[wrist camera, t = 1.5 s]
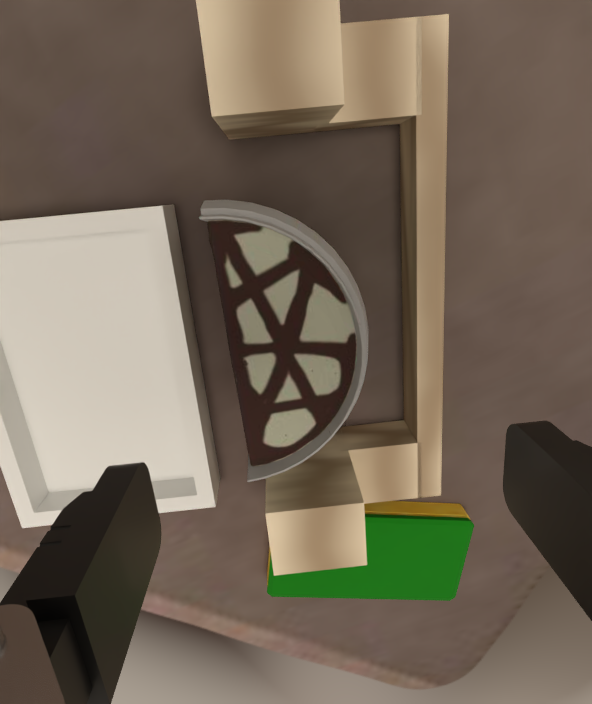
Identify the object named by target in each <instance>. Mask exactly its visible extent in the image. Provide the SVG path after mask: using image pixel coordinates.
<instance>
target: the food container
mask: <svg viewBox="0 0 592 704" xmlns="http://www.w3.org/2000/svg"><path fill="white" fill-rule="evenodd" d="M200 210H201V216H200V217H199V219H200V220H203V221H206V222H207V223H208V230H209V240H210V244H211V247H212V251H213V256H214V261H215V267H216V272H217V278H218V284H219V290H220V296H221V302H222V307H223V313H224V319H225V325H226V331H227V338H228V344H229V350H230V356H231V362H232V367H233V372H234V377H235V382H236V387H237V393H238V398H239V404H240V410H241V415H242V421H243V426H244V432H245V438H246V443H247V448H248V478H247V481H248V482H251V481H256V480H260V479H265V478H268V477H271V476H274V475H277V474H280V473H282V472H285V471H287V470H289V469H291V468H293V467H295V466H297V465H299V464H301V463H302V462H304V461H305V460H307V459H308V458H309V457H311V456H312V455H314V454H315V453H316V452H318V451H319V450H320V449H321V448H322V447H323V446H324V445H325V444H326V443H327V442H328V441H329V440H330V439H331V438H332V437H333V436H334V435H335V433H336V432H337V431H338V430H339V428H340V427H341V426H342V424H343V423H344V422H345V420H346V419H347V418H348V416H349V414H350V412H351V410H352V409H353V407H354V405H355V403H356V401H357V399H358V396H359V394H360V391H361V388H362V385H363V382H364V378H365V373H366V367H367V362H368V323H367V317H366V311H365V306H364V303H363V300H362V297H361V294H360V291H359V288H358V286H357V284H356V282H355V280H354V278H353V276H352V274H351V272H350V271H349V269H348V267H347V266H346V264H345V263H344V262H343V260H342V259H341V258H340V256H339V255H338V254H337V252H336V251H335V250H334V249H333V248H332V247H331V246H330V245H329V244H328V243H327V242H326V241H325V240H324V239H323V238H322V237H321V236H320V235H319V234H317V233H316V232H315V231H313V230H312V229H310V228H309V227H307V226H306V225H304V224H303V223H302V222H300V221H299V220H297V219H295V218H293V217H291V216H289V215H286V214H284V213H282V212H280V211H278V210H276V209H273V208H269V207H266V206H262V205H259V204H255V203H251V202H243V201H235V200H205V201H204V202H203V204H202V206H201V209H200Z"/></svg>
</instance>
